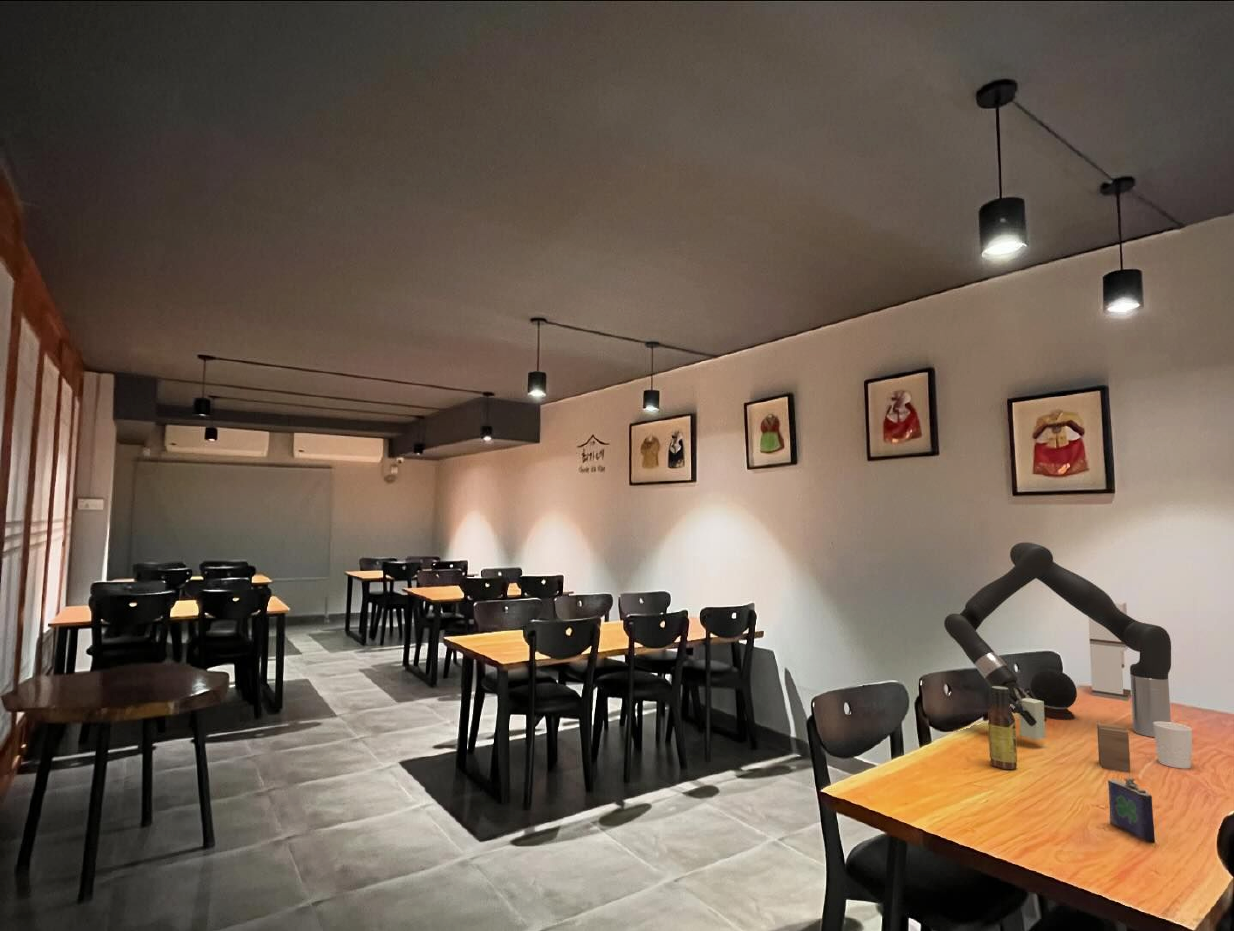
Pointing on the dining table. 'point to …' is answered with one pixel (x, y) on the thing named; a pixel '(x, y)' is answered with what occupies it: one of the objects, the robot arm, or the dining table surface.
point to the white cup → (1173, 744)
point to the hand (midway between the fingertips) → (1039, 723)
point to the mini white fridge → (1107, 661)
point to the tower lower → (1114, 760)
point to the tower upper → (1113, 737)
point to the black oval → (1054, 693)
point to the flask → (1131, 809)
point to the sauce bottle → (1002, 730)
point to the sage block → (1038, 714)
